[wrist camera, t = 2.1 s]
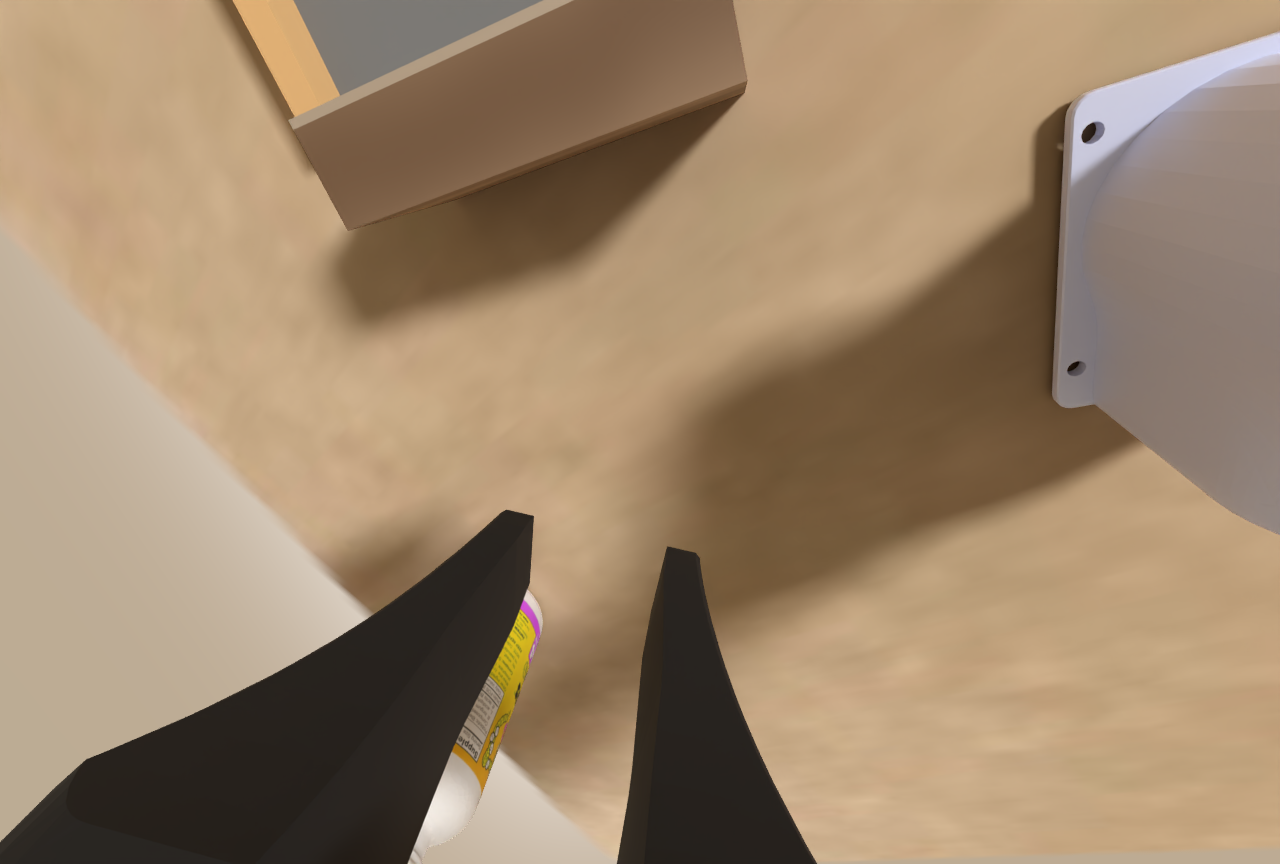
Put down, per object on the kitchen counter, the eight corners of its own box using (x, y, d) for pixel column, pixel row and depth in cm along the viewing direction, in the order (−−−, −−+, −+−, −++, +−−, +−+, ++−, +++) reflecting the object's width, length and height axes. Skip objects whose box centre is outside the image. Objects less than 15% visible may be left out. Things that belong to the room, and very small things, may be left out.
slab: (744, 92, 16) (747, 80, 10) (456, 199, 18) (347, 230, 13) (724, -12, 14) (717, -82, 9) (421, 119, 17) (288, 120, 12)
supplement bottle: (494, 658, 31) (363, 948, 20) (406, 589, 29) (210, 869, 18) (572, 618, 28) (469, 932, 17) (481, 538, 26) (300, 835, 15)
